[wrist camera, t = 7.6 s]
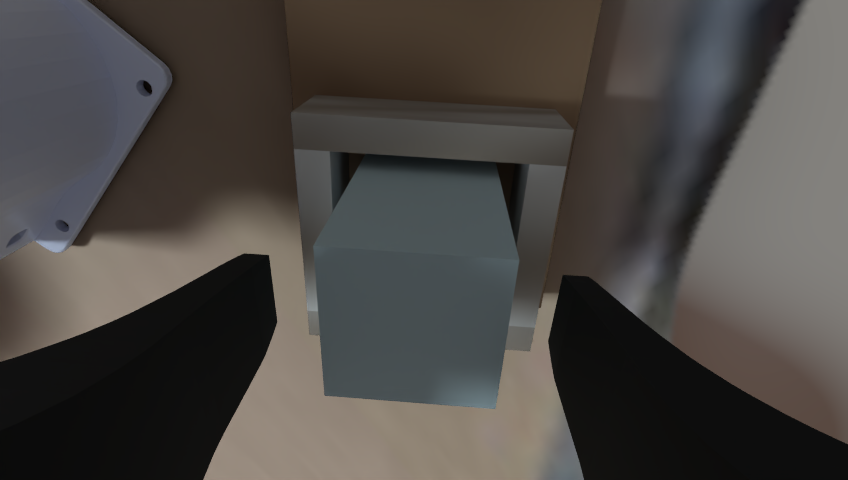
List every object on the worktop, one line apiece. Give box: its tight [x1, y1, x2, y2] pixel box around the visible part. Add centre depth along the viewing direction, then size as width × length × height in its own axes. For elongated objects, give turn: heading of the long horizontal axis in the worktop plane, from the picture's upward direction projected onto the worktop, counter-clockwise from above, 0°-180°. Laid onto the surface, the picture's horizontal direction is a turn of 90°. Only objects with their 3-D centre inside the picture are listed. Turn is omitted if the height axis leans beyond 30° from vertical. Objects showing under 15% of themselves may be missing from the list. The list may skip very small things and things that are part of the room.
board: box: [284, 0, 602, 351], centre depth 14 cm, size 14×9×4 cm, turn 177°
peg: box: [313, 154, 519, 409], centre depth 13 cm, size 4×4×7 cm
